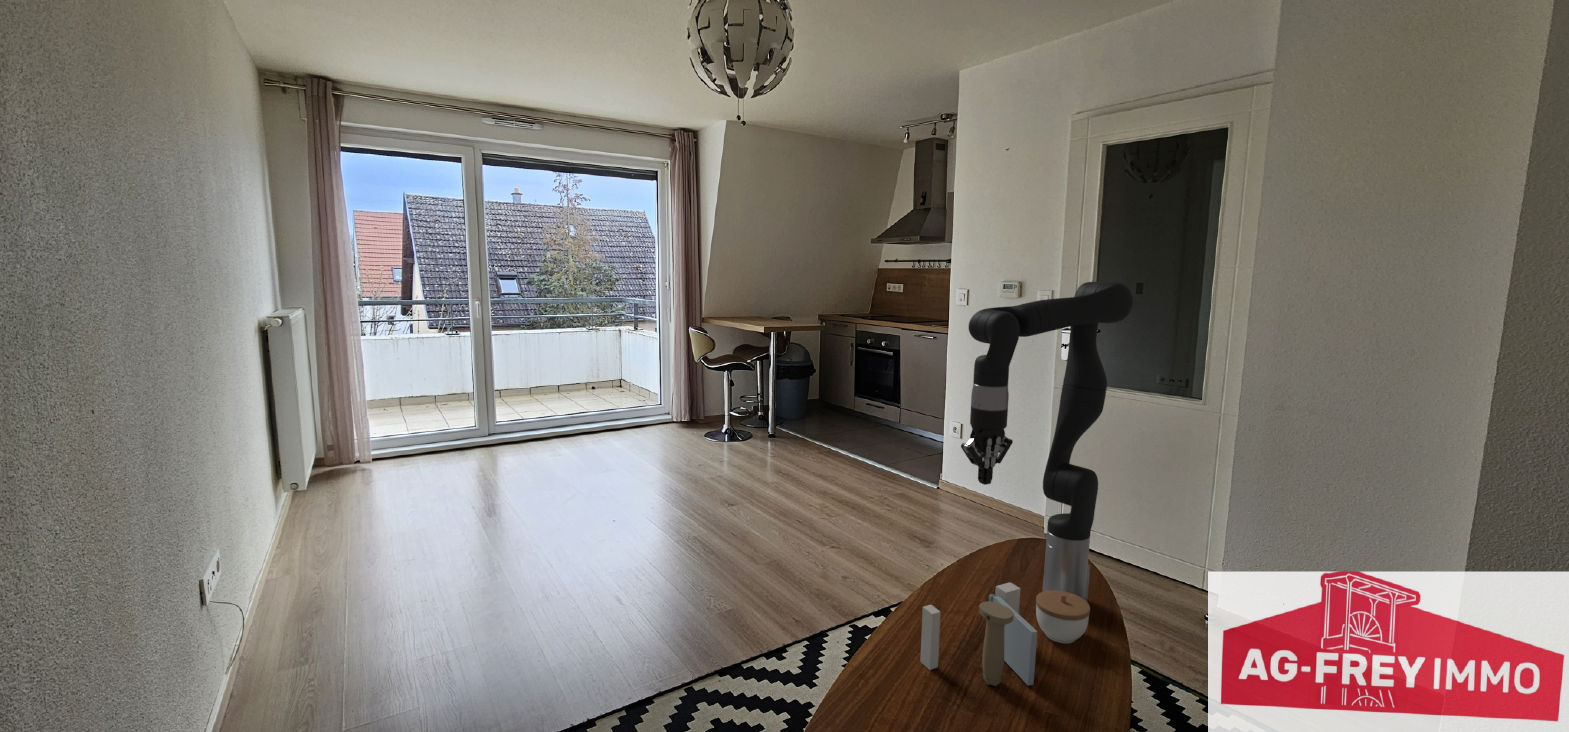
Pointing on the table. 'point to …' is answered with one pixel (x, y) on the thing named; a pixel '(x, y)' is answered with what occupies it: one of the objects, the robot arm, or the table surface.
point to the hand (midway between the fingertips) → (984, 483)
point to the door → (1019, 644)
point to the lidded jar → (1062, 615)
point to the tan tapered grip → (994, 640)
